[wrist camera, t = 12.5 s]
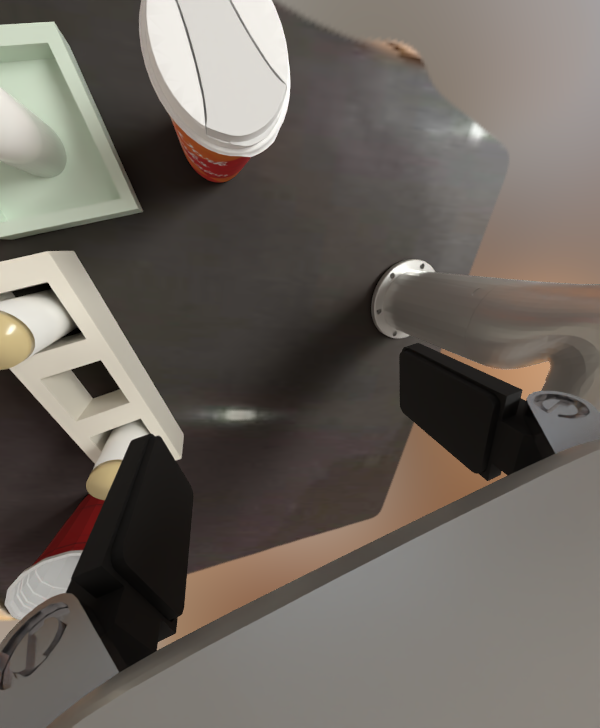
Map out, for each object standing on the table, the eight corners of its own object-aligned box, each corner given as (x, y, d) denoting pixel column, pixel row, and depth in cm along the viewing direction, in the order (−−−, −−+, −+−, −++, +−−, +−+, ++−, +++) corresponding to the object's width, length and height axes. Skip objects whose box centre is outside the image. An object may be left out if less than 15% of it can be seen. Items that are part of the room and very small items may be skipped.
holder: (73, 251, 26) (47, 251, 21) (183, 434, 38) (181, 458, 34) (-23, 273, 24) (-72, 278, 20) (125, 457, 36) (114, 485, 32)
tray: (69, 45, 21) (53, 21, 18) (143, 211, 26) (138, 208, 24) (-113, 59, 18) (-156, 34, 16) (11, 239, 24) (-7, 238, 22)
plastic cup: (147, 469, 38) (127, 550, 28) (147, 520, 42) (129, 608, 32) (55, 477, 34) (-10, 576, 24) (63, 532, 38) (11, 639, 27)
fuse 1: (70, 283, 27) (-3, 302, 17) (94, 322, 29) (42, 358, 19) (22, 295, 26) (-82, 322, 16) (51, 335, 28) (-26, 378, 18)
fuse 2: (146, 402, 34) (124, 460, 25) (161, 426, 36) (147, 488, 27) (111, 414, 33) (75, 479, 24) (129, 438, 35) (102, 506, 26)
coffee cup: (149, 116, 24) (86, -41, 11) (225, 79, 24) (250, -111, 12) (204, 210, 28) (205, 177, 15) (267, 176, 29) (319, 115, 16)
